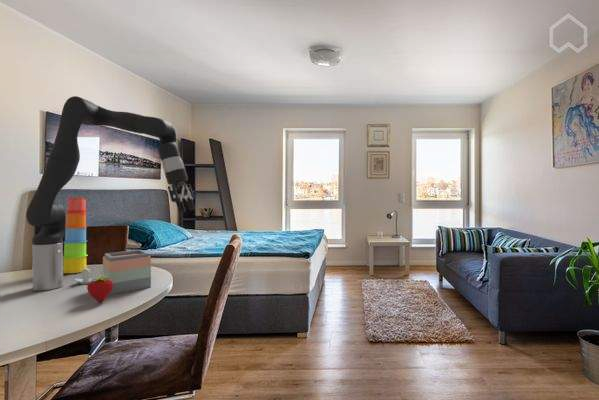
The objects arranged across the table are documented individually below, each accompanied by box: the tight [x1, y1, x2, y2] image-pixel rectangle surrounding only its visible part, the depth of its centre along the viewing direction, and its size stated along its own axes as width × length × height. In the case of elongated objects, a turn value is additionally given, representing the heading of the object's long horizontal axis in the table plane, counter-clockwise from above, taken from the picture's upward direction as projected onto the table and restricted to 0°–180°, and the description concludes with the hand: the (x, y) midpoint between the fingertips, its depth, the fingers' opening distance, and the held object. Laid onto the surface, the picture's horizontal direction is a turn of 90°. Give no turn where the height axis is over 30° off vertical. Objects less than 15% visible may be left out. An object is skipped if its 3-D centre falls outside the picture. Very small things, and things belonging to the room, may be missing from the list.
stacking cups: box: [63, 197, 89, 274], centre depth 147 cm, size 10×10×35 cm
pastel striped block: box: [102, 249, 152, 295], centre depth 122 cm, size 14×12×13 cm
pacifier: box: [74, 268, 98, 285], centre depth 129 cm, size 7×6×6 cm
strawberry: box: [86, 271, 113, 303], centre depth 105 cm, size 6×8×10 cm
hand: (187, 211), depth 120 cm, fingers open, 8 cm apart
